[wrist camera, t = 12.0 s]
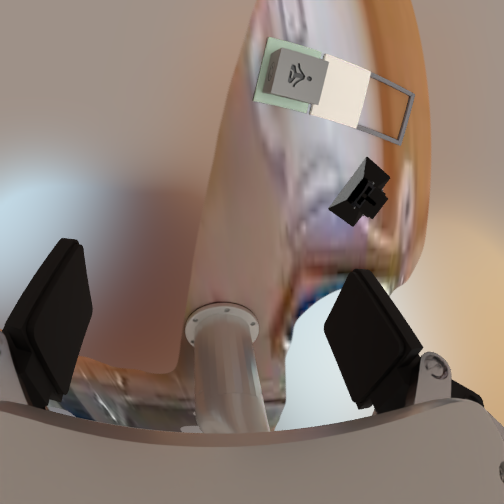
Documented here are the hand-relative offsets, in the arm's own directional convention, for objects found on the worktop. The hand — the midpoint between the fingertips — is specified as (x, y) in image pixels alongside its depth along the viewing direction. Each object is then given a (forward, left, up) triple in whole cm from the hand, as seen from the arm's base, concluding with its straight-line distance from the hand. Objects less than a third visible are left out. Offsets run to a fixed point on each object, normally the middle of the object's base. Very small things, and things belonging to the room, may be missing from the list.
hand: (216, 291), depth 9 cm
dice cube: (+10, -7, -26) cm, 28 cm away
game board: (+10, -14, -26) cm, 31 cm away
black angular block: (-3, -21, -27) cm, 35 cm away
